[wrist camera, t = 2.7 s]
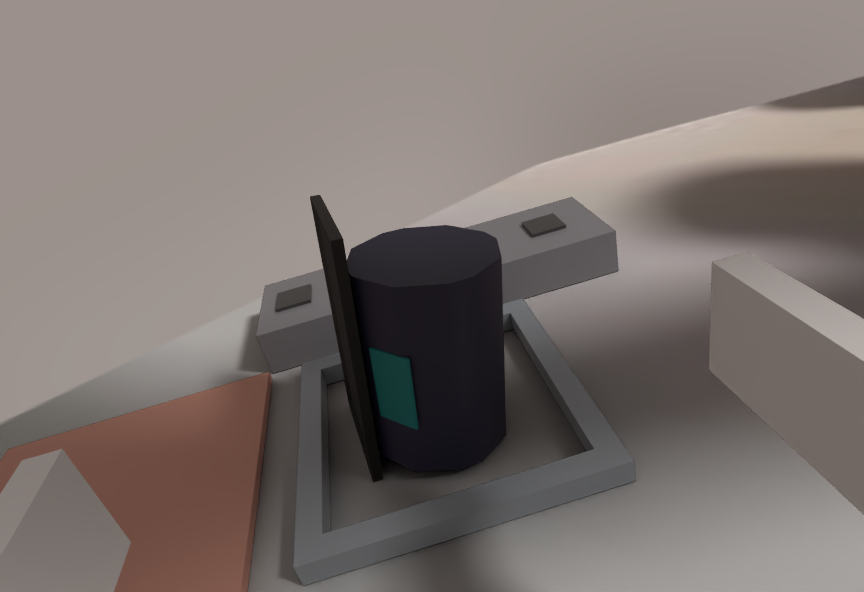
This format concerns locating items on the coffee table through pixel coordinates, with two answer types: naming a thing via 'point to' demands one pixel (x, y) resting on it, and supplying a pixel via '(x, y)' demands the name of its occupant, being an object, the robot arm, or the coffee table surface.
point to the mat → (176, 484)
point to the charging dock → (521, 278)
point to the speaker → (419, 341)
